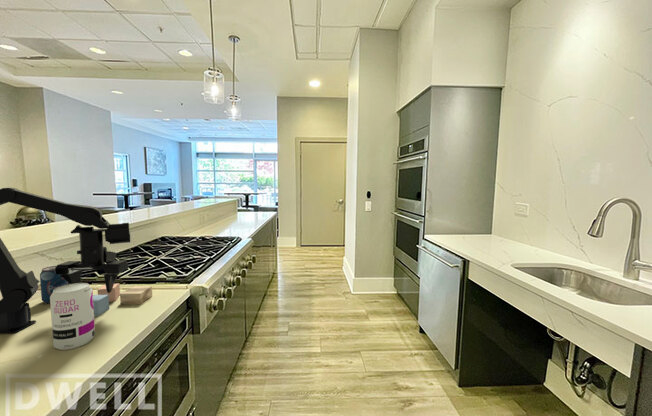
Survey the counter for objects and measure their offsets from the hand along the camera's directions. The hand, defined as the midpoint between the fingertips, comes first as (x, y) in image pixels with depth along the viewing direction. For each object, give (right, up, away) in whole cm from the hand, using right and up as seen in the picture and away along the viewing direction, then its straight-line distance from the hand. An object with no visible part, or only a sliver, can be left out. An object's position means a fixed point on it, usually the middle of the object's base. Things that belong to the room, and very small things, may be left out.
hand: (94, 292), depth 90 cm
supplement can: (+9, -8, -17) cm, 20 cm away
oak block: (+7, -6, +11) cm, 14 cm away
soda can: (-22, -6, +9) cm, 25 cm away
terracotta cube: (-3, -6, +11) cm, 13 cm away
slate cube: (0, -7, +1) cm, 7 cm away
